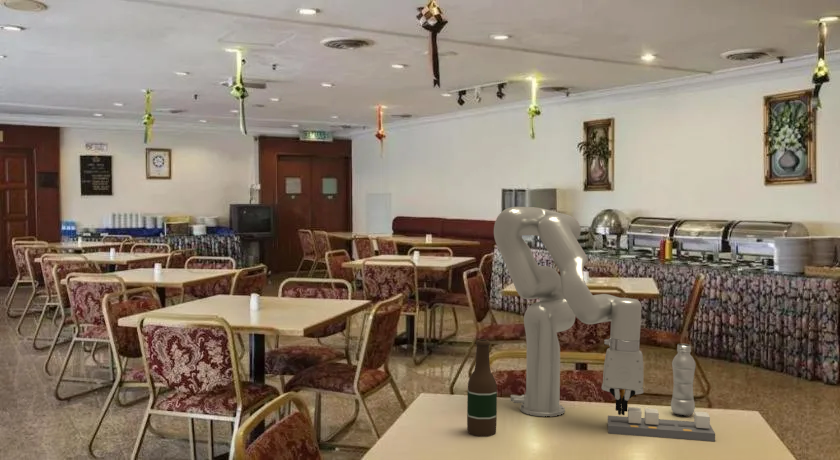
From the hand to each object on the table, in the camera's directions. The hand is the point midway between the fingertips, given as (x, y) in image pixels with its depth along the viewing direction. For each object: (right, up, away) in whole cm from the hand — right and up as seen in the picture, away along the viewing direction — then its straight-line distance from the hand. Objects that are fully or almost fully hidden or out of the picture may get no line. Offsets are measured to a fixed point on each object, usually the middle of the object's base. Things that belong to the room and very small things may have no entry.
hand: (621, 413), depth 197 cm
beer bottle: (-37, -4, -5) cm, 38 cm away
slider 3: (+20, -2, -5) cm, 20 cm away
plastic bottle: (+21, -4, +14) cm, 26 cm away
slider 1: (+3, -2, -1) cm, 4 cm away
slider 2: (+7, -2, -2) cm, 8 cm away
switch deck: (+9, -4, -2) cm, 10 cm away
